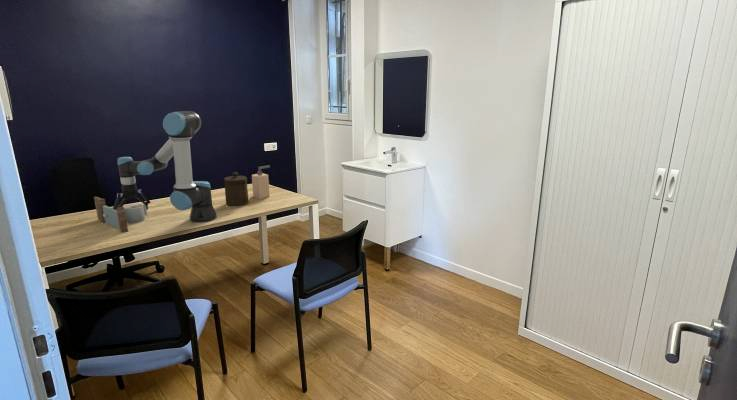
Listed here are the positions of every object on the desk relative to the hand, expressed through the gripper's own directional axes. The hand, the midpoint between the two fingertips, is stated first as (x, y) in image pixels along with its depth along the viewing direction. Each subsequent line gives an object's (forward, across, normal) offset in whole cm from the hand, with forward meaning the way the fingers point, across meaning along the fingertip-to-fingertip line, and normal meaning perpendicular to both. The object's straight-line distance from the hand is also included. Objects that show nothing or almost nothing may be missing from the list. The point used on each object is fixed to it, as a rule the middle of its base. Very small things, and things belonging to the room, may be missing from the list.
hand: (134, 218), depth 241 cm
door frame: (+2, +12, -1) cm, 12 cm away
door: (+1, +13, +3) cm, 13 cm away
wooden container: (+2, -60, +17) cm, 62 cm away
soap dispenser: (+2, -84, +15) cm, 85 cm away
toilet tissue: (+2, 0, 0) cm, 2 cm away
